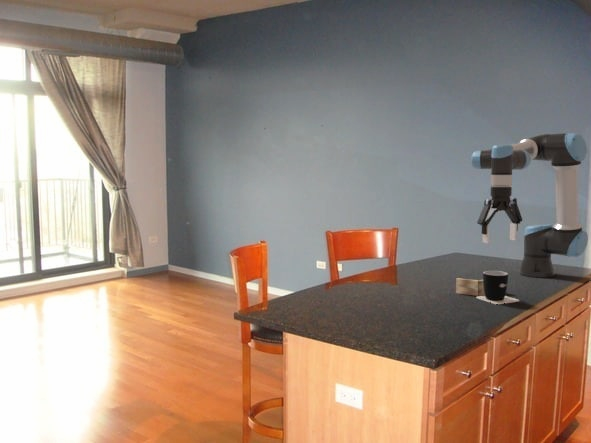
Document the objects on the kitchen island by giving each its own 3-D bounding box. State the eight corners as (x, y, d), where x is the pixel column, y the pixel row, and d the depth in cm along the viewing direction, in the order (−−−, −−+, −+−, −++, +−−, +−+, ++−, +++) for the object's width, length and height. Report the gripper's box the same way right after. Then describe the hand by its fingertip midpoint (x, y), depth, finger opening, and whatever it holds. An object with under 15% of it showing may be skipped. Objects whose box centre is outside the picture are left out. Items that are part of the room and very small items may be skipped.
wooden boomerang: (488, 288, 240) (488, 274, 239) (502, 292, 233) (502, 278, 232) (454, 292, 233) (455, 278, 232) (468, 297, 226) (468, 282, 225)
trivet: (497, 295, 229) (498, 293, 229) (518, 301, 219) (519, 299, 219) (476, 298, 224) (476, 296, 224) (496, 304, 214) (496, 303, 214)
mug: (499, 303, 214) (500, 276, 213) (478, 298, 221) (478, 272, 219) (515, 297, 222) (516, 271, 221) (493, 293, 229) (494, 268, 227)
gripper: (518, 184, 226) (516, 237, 228) (468, 186, 216) (467, 242, 218) (533, 185, 219) (531, 240, 221) (482, 187, 209) (481, 245, 211)
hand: (499, 241), depth 220 cm, fingers open, 13 cm apart
